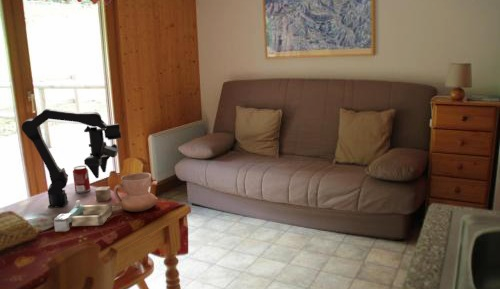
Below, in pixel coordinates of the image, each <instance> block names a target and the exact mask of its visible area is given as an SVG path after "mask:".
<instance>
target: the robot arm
mask: <svg viewBox="0 0 500 289" xmlns="http://www.w3.org/2000/svg"><path fill="white" fill-rule="evenodd" d="M48 120H55V121H67V122H73V123H80V124H83V125H86V127H85V129H84V130H83V133H88V136H89V144H88V147H89V148H90V153H89V156H88V157H86V158H85V159H84V160H83V161H84V166H86V167H87V169H89V171H90V172H91V173H92V174H93V176H94V177H95V179H99V178H100V177H99V175H100V169H101V171H102V173H106V171H107V165H108V160H109V159H110V158H115V157H117V156H118V152H119V151H120V150H119V147H118V144H116V143H113V144H112V145H107V142H106V141H105V140H104V139H107V140H108V141H111V140H112V141H113V140H121V139H122V136H121V135H122V134H121V129H120V124H119V123H114V124H106V122H104V120H103V119H102V116H101V114H100V113H99V112H98V111H87V112H86V111H85V112H76V111H75V112H74V111H66V110H57V109H51V108H45V109H44V110H43V111H42V112H40V113H39V114H37V115H36V116H34V117H33V118H28V119H26V120H25V121H23V123H22V124H21V131H22V132H23V134H24V135H25V136H26V137H27V138H28V139H29V140H30V141H31V142H32V143H33V145H34V148H36V151H37V152H38V154H39V156H40V158H41V159H42V162H43V164H44V165H45V167H46V169H47V171H48V175H49V179H50V182H51V183H50V184H49V186H48V188H47V197H48V203H49V204H48V206H47V208H63V207H64V206H66V205H67V204H68V203H69V200H68V194H67V193H66V190H65V188H66V187H67V183H68V179H69V174H68V173H67V172H66V169H65V168H64V167H63V168H60V167H59V166H58V164H57V162H56V160H55V158H54V155H53V154H52V152H51V151H50V148H49V147H48V145H47V144H46V141H45V139H44V137H43V133H42V129H41V127H40V126H41V125H42V124H44V123H45V122H46V121H48ZM103 131H104V132H103Z"/></svg>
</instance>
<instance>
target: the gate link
mask: <svg viewBox="0 0 500 289" xmlns="http://www.w3.org/2000/svg"><path fill="white" fill-rule="evenodd" d="M83 206H84V205H83V204H81V200H79V199H78V200H75V205H74V206H73V208H72V209H71V210H70V211H69V212H68V213H67V214H71V213H72V216H79V215H78V214H80V213H82V212H83ZM72 216H71V217H72ZM71 217H70V218H69V219H68V221H69V224H70V223H72V221H71Z"/></svg>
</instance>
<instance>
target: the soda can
mask: <svg viewBox="0 0 500 289" xmlns="http://www.w3.org/2000/svg"><path fill="white" fill-rule="evenodd" d="M88 169H89V168H88V167H87V166H86V165H77V166H74V167H73V170H72V178H73V183H74V191H75V193H79V194H84V193H87V192H89V191H90V190H91V185H90V184H91V183H90V175H89V170H88Z"/></svg>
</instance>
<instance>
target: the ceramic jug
mask: <svg viewBox="0 0 500 289" xmlns="http://www.w3.org/2000/svg"><path fill="white" fill-rule="evenodd" d="M120 182H121V184H116V185H115V186H114V188H113V194H114V196H115V197H116V200H117V201H118V202H119V203H118V204H119V205H120V206H121V208H122V209H123V210H125V211H128V212H132V213H139V212H144V211H147V210H149V209H151V208H153V207H154V206H155V205H156V204H157V202H158V197H157V196H156V195H155V194H153V193H151V192H149V189H150V187H152V186H154V185H155V186H157V184H158V181H156V180H153V181H152V174H151V173H149V172H137V173H135V172H134V173H129V174H125V175H122V176H121V177H120ZM118 189H122V190H124V191H125V192H126V193H127V194H126V196H124V197H123V198H122V199H121V197H120V196H119V192H118Z"/></svg>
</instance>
